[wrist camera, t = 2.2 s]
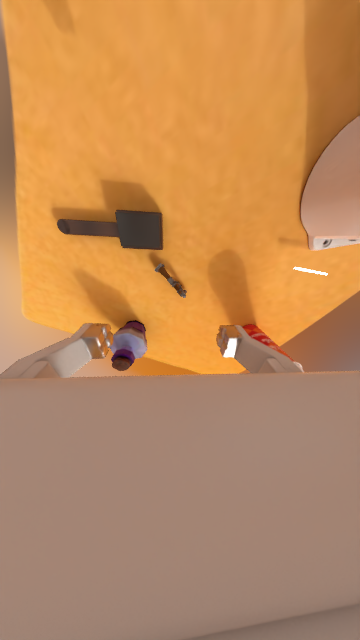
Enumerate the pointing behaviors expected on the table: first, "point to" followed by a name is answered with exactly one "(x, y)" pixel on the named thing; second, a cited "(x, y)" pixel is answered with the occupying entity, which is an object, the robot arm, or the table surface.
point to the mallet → (122, 229)
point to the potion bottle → (128, 345)
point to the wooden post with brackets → (171, 280)
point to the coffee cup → (265, 340)
